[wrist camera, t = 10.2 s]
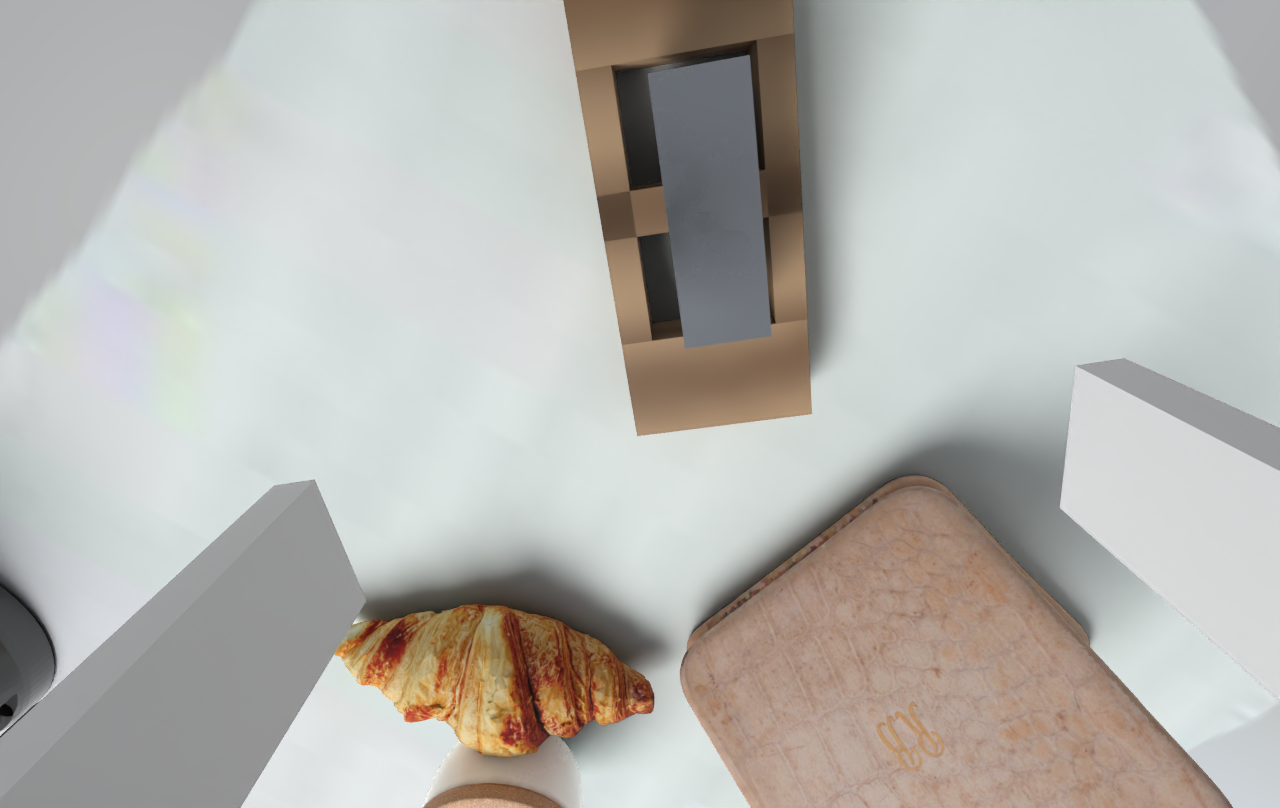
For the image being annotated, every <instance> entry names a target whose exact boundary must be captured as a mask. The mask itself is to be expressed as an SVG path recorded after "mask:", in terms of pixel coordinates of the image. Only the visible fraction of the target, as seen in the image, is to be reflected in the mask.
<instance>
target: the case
mask: <svg viewBox="0 0 1280 808" xmlns="http://www.w3.org/2000/svg"><path fill="white" fill-rule="evenodd" d="M680 681H681V686H682V689H683V692H684V695H685V697H686V699H687V701H688V703H689V705H690V706H691V708H692V710H693V711H694V713H695V715H696V717H697V718H698V720H699V722H700V723H701V725H702V727H703V729H704V730H705V732H706V733H707V735H708V737H709V738H710V740H711V742H712V743H713V745H714V747H715V748H716V750H717V752H718V754H719V755H720V757H721V759H722V760H723V762H724V764H725V765H726V767H727V769H728V770H729V772H730V773H731V775H732V777H733V778H734V780H735V782H736V784H737V785H738V787H739V789H740V790H741V792H742V793H743V795H744V797H745V798H746V800H747V802H748V803H749V805H750V806H751V808H1233V807H1232V806H1231V804H1230V802H1229V801H1228V799H1227V798H1226V797H1225V796H1224V794H1223V793H1222V792H1221V791H1220V789H1219V788H1218V787H1217V786H1216V785H1215V783H1214V782H1213V781H1212V780H1211V779H1210V778H1209V777H1208V775H1207V774H1206V773H1205V772H1204V771H1203V770H1202V769H1201V768H1200V767H1199V766H1198V765H1197V763H1196V762H1195V761H1194V760H1193V759H1192V758H1191V757H1190V756H1189V755H1188V754H1187V753H1186V752H1185V750H1184V749H1183V748H1182V747H1181V746H1180V745H1179V744H1178V743H1177V742H1176V741H1175V740H1174V739H1173V737H1172V736H1171V735H1170V734H1169V733H1168V732H1167V731H1166V730H1165V729H1164V728H1163V726H1162V725H1161V724H1160V723H1159V722H1158V721H1157V720H1156V719H1155V718H1154V717H1153V716H1152V715H1151V714H1150V712H1149V711H1148V710H1147V709H1146V708H1145V707H1144V706H1143V705H1142V704H1141V702H1140V701H1139V700H1138V699H1137V698H1136V697H1135V695H1134V694H1133V693H1132V692H1131V691H1130V690H1129V689H1128V688H1127V687H1126V686H1125V684H1124V683H1123V682H1122V681H1121V680H1120V679H1119V678H1118V677H1117V676H1116V675H1115V674H1114V672H1113V671H1112V670H1111V669H1110V668H1109V667H1108V666H1107V665H1106V664H1105V663H1104V661H1103V660H1102V659H1101V658H1100V657H1099V656H1098V655H1097V654H1096V653H1095V652H1094V651H1093V650H1092V649H1091V648H1090V643H1089V639H1088V636H1087V634H1086V633H1085V631H1084V630H1083V628H1082V627H1081V626H1080V625H1079V624H1078V622H1077V621H1076V620H1075V619H1074V618H1073V617H1071V616H1070V615H1069V614H1068V613H1067V612H1066V611H1065V610H1064V609H1063V608H1062V607H1061V606H1060V605H1059V604H1058V603H1057V602H1056V601H1055V600H1054V599H1053V598H1052V597H1051V596H1050V595H1049V594H1048V593H1047V592H1046V591H1045V590H1044V589H1043V588H1042V587H1041V586H1040V585H1039V584H1038V583H1037V582H1036V581H1035V580H1034V579H1033V578H1032V577H1031V576H1030V575H1029V574H1028V573H1027V572H1026V571H1025V570H1024V569H1023V568H1022V567H1021V566H1020V565H1019V564H1018V563H1017V562H1016V561H1015V560H1014V559H1013V558H1012V557H1011V556H1010V555H1009V554H1008V553H1007V552H1006V551H1005V550H1004V549H1003V547H1002V546H1001V545H1000V544H999V543H998V542H997V541H996V540H995V539H994V538H993V536H992V535H991V534H990V533H989V532H988V531H987V530H986V529H985V528H984V527H983V525H982V524H981V523H980V522H979V521H978V520H977V519H976V518H975V517H974V516H973V515H972V514H971V513H970V512H969V511H968V510H967V509H966V507H965V506H964V505H963V504H962V503H961V502H960V501H959V500H958V499H957V498H956V497H955V496H954V495H953V494H952V493H951V492H950V491H949V490H948V489H947V488H946V487H945V486H944V485H942V484H941V483H939V482H938V481H936V480H934V479H932V478H929V477H926V476H920V475H909V476H903V477H900V478H897V479H894V480H892V481H890V482H888V483H887V484H885V485H884V486H882V487H881V488H879V489H878V490H877V491H875V492H874V493H872V494H871V495H870V496H869V497H868V498H866V499H865V500H864V501H863V502H861V503H860V504H859V505H858V506H856V507H855V508H854V509H853V510H851V511H850V512H849V513H847V514H846V515H844V516H843V517H842V518H841V519H840V520H838V521H837V522H836V523H834V524H833V525H832V526H830V527H829V528H828V529H827V530H825V531H824V532H823V533H821V534H820V535H819V536H817V537H816V538H815V539H814V540H812V541H811V542H810V543H808V544H807V545H806V546H805V547H803V548H802V549H801V550H799V551H798V552H797V553H795V554H794V555H793V556H792V557H790V558H789V559H787V560H786V561H785V562H783V563H782V564H781V565H779V566H778V567H777V568H776V569H774V570H773V571H772V572H771V573H769V574H768V575H766V576H765V577H764V578H763V579H761V580H760V581H758V582H757V583H756V584H755V585H753V586H752V587H751V588H749V589H748V590H747V591H745V592H744V593H742V594H741V595H740V596H739V597H738V598H737V599H735V600H734V601H733V602H731V603H730V604H729V605H727V606H726V607H724V608H723V609H721V610H720V611H719V612H717V613H716V614H715V615H713V616H712V617H711V618H709V619H708V620H707V621H706V622H705V623H703V624H702V625H701V626H700V627H698V628H697V629H696V630H695V631H694V632H693V633H692V634H691V636H690V638H689V640H688V643H687V652H686V653H685V655H684V658H683V660H682V664H681V669H680Z"/></svg>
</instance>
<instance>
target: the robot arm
mask: <svg viewBox="0 0 1280 808" xmlns="http://www.w3.org/2000/svg"><path fill="white" fill-rule="evenodd" d="M1060 509H1061V510H1062V511H1064V512H1065V513H1066V514H1067V515H1068V516H1069V517H1070V518H1072V519H1073V520H1074V521H1075V522H1076V523H1077V524H1078V525H1080V526H1081V527H1082V528H1083V529H1084V530H1085V531H1086V532H1087V533H1089V534H1090V535H1091V536H1092V537H1093V538H1094V539H1095V540H1097V541H1098V542H1099V543H1100V544H1101V545H1102V546H1103V547H1105V548H1106V549H1107V550H1108V551H1109V552H1110V553H1111V554H1112V555H1114V556H1115V557H1116V558H1117V559H1118V560H1119V561H1120V562H1122V563H1123V564H1124V565H1125V566H1126V567H1127V568H1128V569H1130V570H1131V571H1132V572H1133V573H1134V574H1135V575H1136V576H1138V577H1139V578H1140V579H1141V580H1142V581H1143V582H1144V583H1145V584H1147V585H1148V586H1149V587H1150V588H1151V589H1152V590H1153V591H1155V592H1156V593H1157V594H1158V595H1159V596H1160V597H1161V598H1163V599H1164V600H1165V601H1166V602H1167V603H1168V604H1169V605H1171V606H1172V607H1173V608H1174V609H1175V610H1176V611H1177V612H1178V613H1180V614H1181V615H1182V616H1183V617H1184V618H1185V619H1186V620H1188V621H1189V622H1190V623H1191V624H1192V625H1193V626H1194V627H1196V628H1197V629H1198V630H1199V631H1200V632H1201V633H1202V634H1203V635H1205V636H1206V637H1207V638H1208V639H1209V640H1210V641H1211V642H1213V643H1214V644H1215V645H1216V646H1217V647H1218V648H1219V649H1221V650H1222V651H1223V652H1224V653H1225V654H1226V655H1227V656H1229V657H1230V658H1231V659H1232V660H1233V661H1234V662H1235V663H1236V664H1238V665H1239V666H1240V667H1241V668H1242V669H1243V670H1244V671H1246V672H1247V673H1248V674H1249V675H1250V676H1251V677H1252V678H1254V679H1255V680H1256V681H1257V682H1258V683H1259V684H1260V685H1261V686H1263V687H1264V688H1265V689H1266V690H1267V691H1268V692H1269V693H1271V694H1272V695H1273V696H1274V697H1275V698H1276V699H1277V700H1279V701H1280V428H1278V427H1276V426H1274V425H1272V424H1269V423H1267V422H1265V421H1263V420H1261V419H1258V418H1256V417H1254V416H1252V415H1249V414H1247V413H1245V412H1243V411H1240V410H1238V409H1236V408H1234V407H1232V406H1229V405H1227V404H1225V403H1223V402H1220V401H1218V400H1216V399H1214V398H1211V397H1209V396H1207V395H1205V394H1203V393H1200V392H1198V391H1196V390H1194V389H1191V388H1189V387H1187V386H1185V385H1182V384H1180V383H1178V382H1176V381H1174V380H1171V379H1169V378H1167V377H1165V376H1162V375H1160V374H1158V373H1156V372H1153V371H1151V370H1149V369H1147V368H1145V367H1142V366H1140V365H1138V364H1136V363H1133V362H1131V361H1129V360H1127V359H1117V360H1111V361H1104V362H1097V363H1091V364H1084V365H1077V366H1075V375H1074V384H1073V393H1072V402H1071V411H1070V420H1069V429H1068V438H1067V447H1066V456H1065V466H1064V475H1063V484H1062V493H1061V502H1060ZM365 602H366V599H365V596H364V594H363V592H362V589H361V587H360V585H359V582H358V580H357V578H356V575H355V573H354V571H353V568H352V566H351V564H350V561H349V559H348V557H347V554H346V552H345V550H344V547H343V545H342V543H341V540H340V538H339V536H338V533H337V531H336V529H335V526H334V524H333V522H332V519H331V517H330V515H329V512H328V510H327V508H326V505H325V503H324V501H323V498H322V496H321V493H320V491H319V489H318V486H317V484H316V482H315V480H309V481H302V482H295V483H289V484H282V485H275V486H273V487H272V488H271V489H270V490H269V491H268V492H267V493H266V494H265V495H264V496H262V497H261V498H260V499H259V500H258V501H257V502H256V503H255V504H254V505H253V506H252V507H250V508H249V509H248V510H247V511H246V512H245V513H244V514H243V515H242V516H241V517H240V518H239V519H237V520H236V521H235V522H234V523H233V524H232V525H231V526H230V527H229V528H228V529H227V530H226V531H224V532H223V533H222V534H221V535H220V536H219V537H218V538H217V539H216V540H215V541H214V542H212V543H211V544H210V545H209V546H208V547H207V548H206V549H205V550H204V551H203V552H202V553H201V554H199V555H198V556H197V557H196V558H195V559H194V560H193V561H192V562H191V563H190V564H189V565H188V566H186V567H185V568H184V569H183V570H182V571H181V572H180V573H179V574H178V575H177V576H176V577H175V578H173V579H172V580H171V581H170V582H169V583H168V584H167V585H166V586H165V587H164V588H163V589H161V590H160V591H159V592H158V593H157V594H156V595H155V596H154V597H153V598H152V599H151V600H150V601H148V602H147V603H146V604H145V605H144V606H143V607H142V608H141V609H140V610H139V611H138V612H137V613H135V614H134V615H133V616H132V617H131V618H130V619H129V620H128V621H127V622H126V623H125V624H123V625H122V626H121V627H120V628H119V629H118V630H117V631H116V632H115V633H114V634H113V635H112V636H110V637H109V638H108V639H107V640H106V641H105V642H104V643H103V644H102V645H101V646H100V647H99V648H97V649H96V650H95V651H94V652H93V653H92V654H91V655H90V656H89V657H88V658H87V659H86V660H84V661H83V662H82V663H81V664H80V665H79V666H78V667H77V668H76V669H75V670H74V671H72V672H71V673H70V674H69V675H68V676H67V677H66V678H65V679H64V680H63V681H62V682H61V683H59V684H58V685H57V686H56V687H55V688H54V689H53V690H52V691H51V692H50V693H49V694H48V695H46V696H45V697H44V698H43V699H42V700H41V701H39V700H40V699H41V698H42V697H43V696H44V695H45V693H46V692H47V691H48V689H49V687H50V685H51V683H52V680H53V676H54V658H53V653H52V649H51V647H50V644H49V642H48V639H47V637H46V635H45V633H44V632H43V630H42V628H41V627H40V625H39V624H38V623H37V621H36V620H35V618H34V617H33V616H32V615H31V614H30V612H29V611H28V610H27V609H26V608H25V607H24V606H23V605H22V604H21V603H20V602H19V601H18V600H17V599H16V598H15V597H13V596H12V595H11V594H10V593H9V592H7V591H6V590H5V589H4V588H2V587H1V586H0V732H1V731H2V730H4V729H5V728H7V727H8V726H10V725H11V724H13V723H14V722H15V721H16V720H17V721H16V722H15V723H14V724H13V725H12V726H11V727H9V728H8V729H7V730H6V731H5V732H4V733H3V734H2V735H1V736H0V808H240V807H241V806H242V804H243V802H244V801H245V799H246V798H247V796H248V794H249V793H250V791H251V789H252V788H253V786H254V784H255V783H256V781H257V780H258V778H259V776H260V775H261V773H262V771H263V770H264V768H265V766H266V765H267V763H268V762H269V760H270V758H271V757H272V755H273V753H274V752H275V750H276V748H277V747H278V745H279V743H280V742H281V740H282V739H283V737H284V735H285V734H286V732H287V730H288V729H289V727H290V725H291V724H292V722H293V721H294V719H295V717H296V716H297V714H298V712H299V711H300V709H301V707H302V706H303V704H304V702H305V701H306V699H307V698H308V696H309V694H310V693H311V691H312V689H313V688H314V686H315V684H316V683H317V681H318V680H319V678H320V676H321V675H322V673H323V671H324V670H325V668H326V666H327V665H328V663H329V661H330V660H331V658H332V657H333V655H334V653H335V652H336V650H337V648H338V647H339V645H340V643H341V642H342V640H343V639H344V637H345V635H346V634H347V632H348V630H349V629H350V627H351V625H352V624H353V622H354V621H355V619H356V617H357V616H358V614H359V612H360V611H361V609H362V607H363V606H364V604H365ZM37 701H39V702H38V703H36V702H37ZM35 703H36V704H35ZM34 704H35V705H34ZM27 710H28V711H27ZM26 711H27V712H26ZM25 712H26V713H25ZM24 713H25V714H24ZM23 714H24V715H23ZM22 715H23V716H22Z"/></svg>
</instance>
